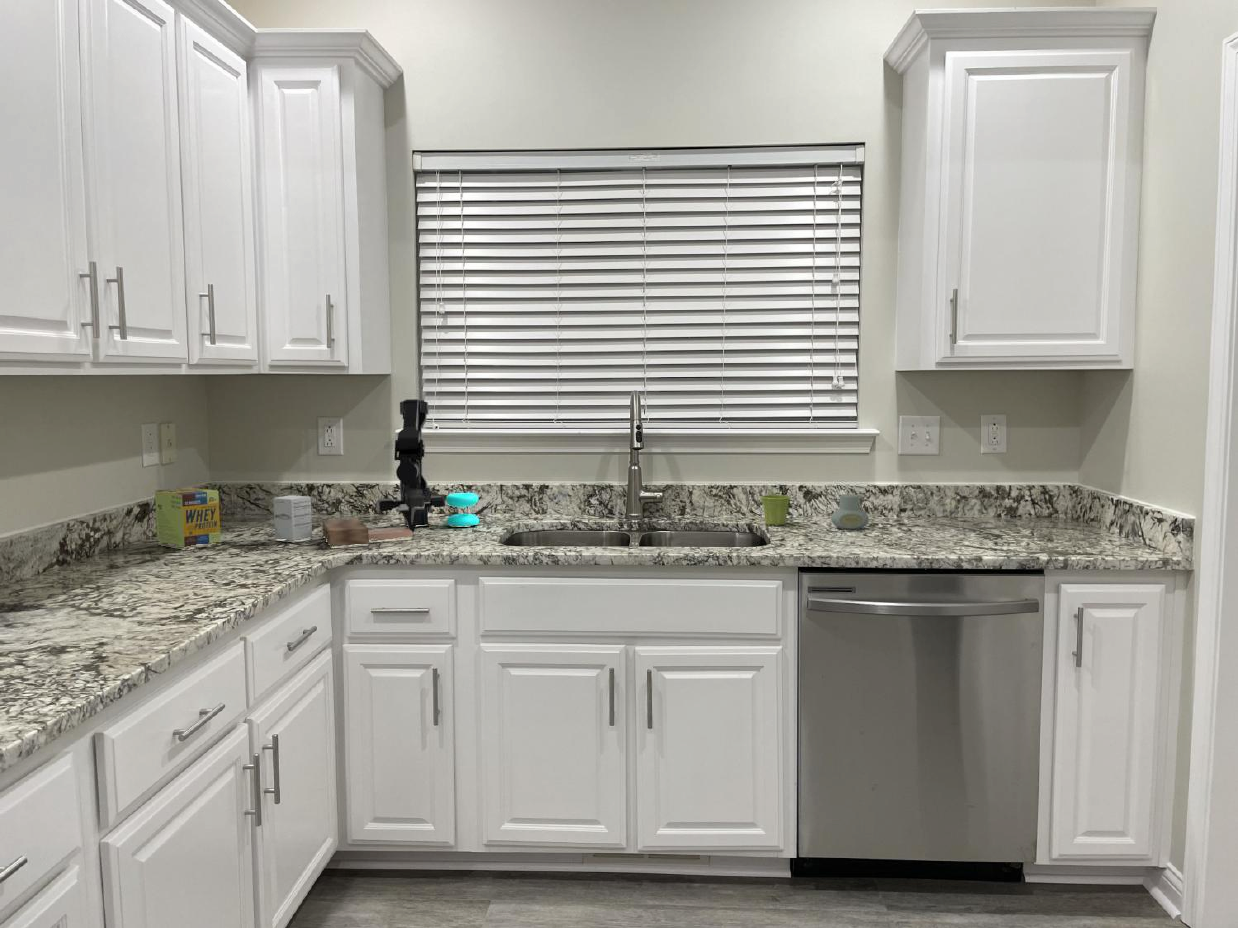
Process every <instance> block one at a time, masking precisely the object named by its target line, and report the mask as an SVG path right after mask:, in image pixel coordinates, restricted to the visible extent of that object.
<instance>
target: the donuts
mask: <svg viewBox="0 0 1238 928" xmlns="http://www.w3.org/2000/svg"><path fill="white" fill-rule="evenodd" d="M478 501H479V496H478V494H476V493H472V492H457V493H451V494H448V495H447V496H446V498H445V503H447V505H449V506H452V507H455V508H465V507H467V508H468V507H473V506H474V505H476V504H478ZM479 523H480V519H479V517H478V516H477V515H475V514H472V513H457V514H456V513H455V514H453V515H450V516H449V517H448V518H447V519H446V525H447V526H448V525H456V526H466V525H477V524H478V525H479ZM478 525H477V526H478Z"/></svg>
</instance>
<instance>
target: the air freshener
mask: <svg viewBox="0 0 1238 928" xmlns="http://www.w3.org/2000/svg"><path fill="white" fill-rule="evenodd" d="M830 520H831V523H832V524H833V525H834V526H835V527H838V528H839V529H842V530H845V529H846V531H856V530H859V529H860V530H861V529H862V528H864V527H866V526H867V525H868V524H869V521H870V516H869V515H868V514H867V511H864V510H863V509H861V496H860V495H859V494H853V493H852V494H851V493H845V494H841V495H840V496H839V508H838V509H836V510H835V511H833V512H832V514H831V516H830Z"/></svg>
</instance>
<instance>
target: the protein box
mask: <svg viewBox="0 0 1238 928" xmlns="http://www.w3.org/2000/svg"><path fill="white" fill-rule="evenodd" d="M154 499H155V500H154V501H155V518H156V519H155V520H156V521H155V523H156V538H157V539H156V542H157V541H159V542H164V543H168V544H176V545H179V546H183V547H186V546H191V545H196V544H208V543H213V542H219V541H221V540H222V539H221V524H220V523H221V522H220V521H221V520H220V503H219V502H220V501H219V490H216V489H208V488H207V489H206V488H196V487H185V488H183V487H182V488H172V489H170V488H169V489H158V490H154Z"/></svg>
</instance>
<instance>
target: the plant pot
mask: <svg viewBox="0 0 1238 928" xmlns="http://www.w3.org/2000/svg"><path fill="white" fill-rule="evenodd" d="M759 498H760V499H761V504H762V507H763V512H764V513H763V514H764V515H763V516H764V522H765V525H768V526H771V525H773V526H784V525H786V523H787V514H788V508H789V503H790V499H791V498H792V496H791V495H785V494H784V495H783V494H763V495H760V496H759Z"/></svg>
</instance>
